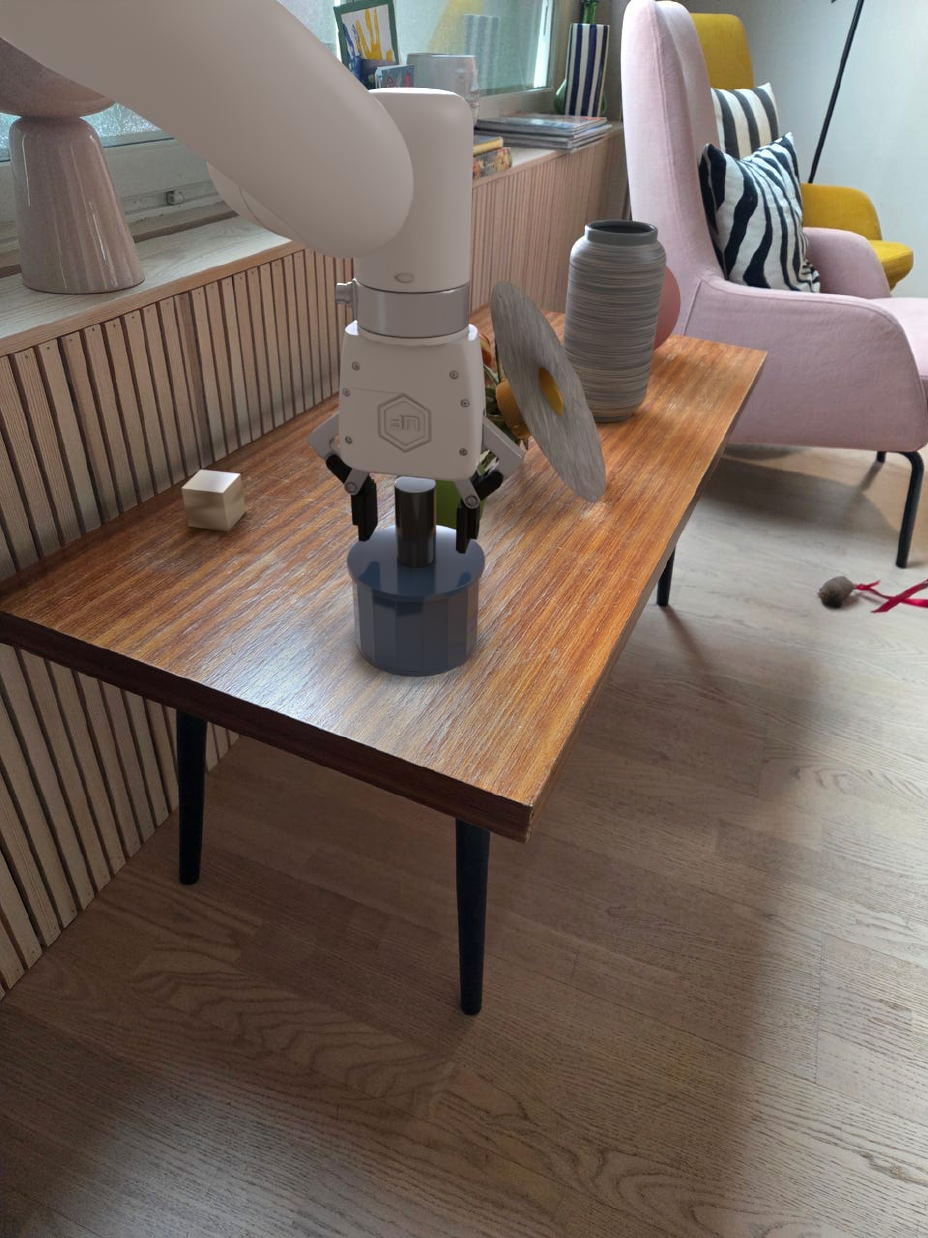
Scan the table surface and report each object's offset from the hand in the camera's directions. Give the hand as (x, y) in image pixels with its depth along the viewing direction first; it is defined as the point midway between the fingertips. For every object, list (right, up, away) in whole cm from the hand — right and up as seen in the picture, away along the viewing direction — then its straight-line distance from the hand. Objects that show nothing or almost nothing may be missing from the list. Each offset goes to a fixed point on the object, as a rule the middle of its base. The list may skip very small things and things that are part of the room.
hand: (415, 537), depth 67 cm
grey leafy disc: (+10, +10, +31) cm, 34 cm away
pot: (0, -8, +6) cm, 10 cm away
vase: (+22, +22, +49) cm, 58 cm away
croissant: (+3, +30, +59) cm, 66 cm away
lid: (0, -2, +1) cm, 2 cm away
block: (-22, +4, +22) cm, 31 cm away
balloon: (+28, +33, +65) cm, 78 cm away
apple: (+2, 0, +17) cm, 17 cm away
